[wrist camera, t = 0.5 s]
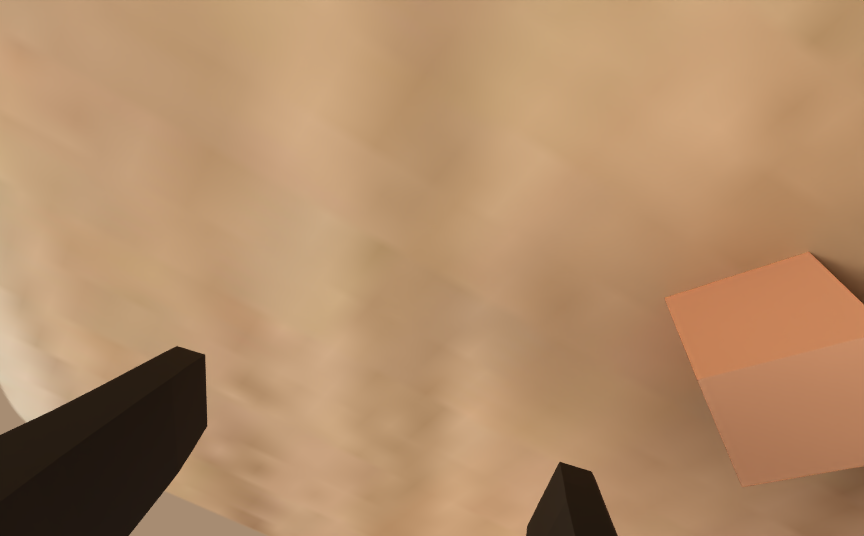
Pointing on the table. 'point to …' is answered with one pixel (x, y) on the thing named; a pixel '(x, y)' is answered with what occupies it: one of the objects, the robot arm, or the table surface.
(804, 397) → the cube
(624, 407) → the table surface
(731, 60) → the table surface
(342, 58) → the table surface
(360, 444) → the table surface
